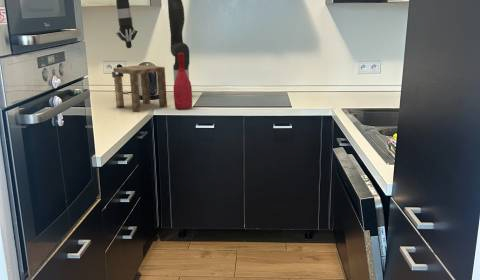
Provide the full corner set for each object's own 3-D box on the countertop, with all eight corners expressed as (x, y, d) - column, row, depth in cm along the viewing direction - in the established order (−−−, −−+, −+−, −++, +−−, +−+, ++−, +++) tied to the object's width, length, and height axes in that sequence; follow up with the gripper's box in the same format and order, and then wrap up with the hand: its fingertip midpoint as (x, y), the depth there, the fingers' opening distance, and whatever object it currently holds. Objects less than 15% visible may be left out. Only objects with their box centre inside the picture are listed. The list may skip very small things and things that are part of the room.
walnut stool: (147, 102, 281) (144, 64, 276) (167, 106, 267) (164, 67, 261) (114, 107, 267) (111, 68, 262) (133, 112, 253) (130, 70, 247)
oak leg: (121, 106, 270) (118, 73, 265) (124, 107, 268) (121, 74, 263) (116, 107, 268) (113, 74, 263) (119, 108, 266) (116, 74, 261)
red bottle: (196, 107, 264) (193, 52, 256) (185, 110, 256) (182, 53, 248) (181, 105, 269) (179, 51, 261) (170, 108, 261) (167, 53, 253)
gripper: (117, 17, 265) (122, 49, 270) (138, 15, 273) (142, 46, 278) (111, 18, 270) (115, 49, 275) (131, 16, 279) (136, 46, 283)
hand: (129, 48), depth 276 cm, fingers closed
